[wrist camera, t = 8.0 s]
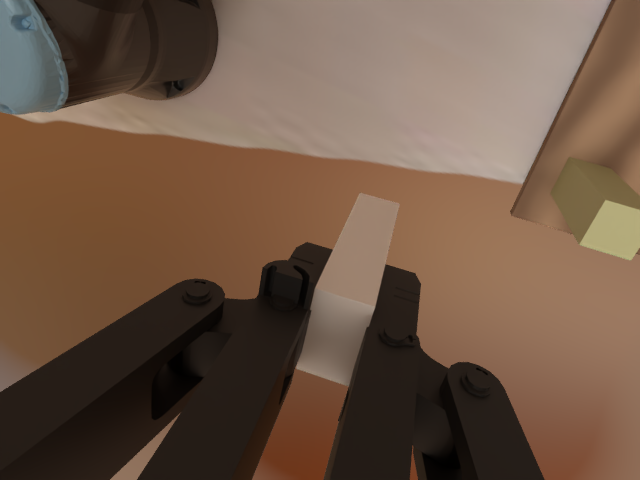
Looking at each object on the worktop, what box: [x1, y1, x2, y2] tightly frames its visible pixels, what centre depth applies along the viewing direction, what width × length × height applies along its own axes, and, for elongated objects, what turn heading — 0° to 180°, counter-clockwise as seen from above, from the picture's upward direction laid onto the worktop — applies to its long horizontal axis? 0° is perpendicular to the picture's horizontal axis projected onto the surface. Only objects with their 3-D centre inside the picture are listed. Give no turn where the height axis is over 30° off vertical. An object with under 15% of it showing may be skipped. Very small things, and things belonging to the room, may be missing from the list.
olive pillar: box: [550, 157, 640, 261], centre depth 39 cm, size 4×4×12 cm
